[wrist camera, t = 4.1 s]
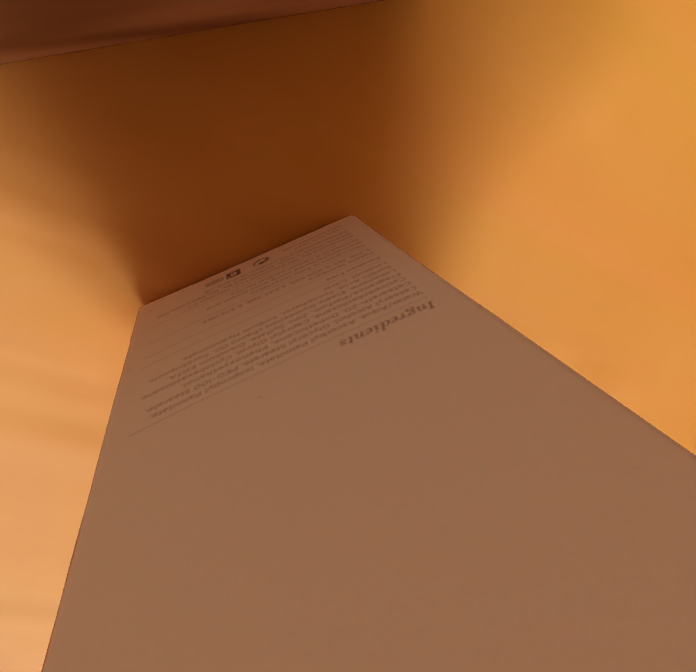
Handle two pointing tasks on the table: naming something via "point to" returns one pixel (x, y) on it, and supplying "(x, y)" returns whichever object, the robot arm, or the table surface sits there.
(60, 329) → the table surface
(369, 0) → the walnut plinth
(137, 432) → the small box
